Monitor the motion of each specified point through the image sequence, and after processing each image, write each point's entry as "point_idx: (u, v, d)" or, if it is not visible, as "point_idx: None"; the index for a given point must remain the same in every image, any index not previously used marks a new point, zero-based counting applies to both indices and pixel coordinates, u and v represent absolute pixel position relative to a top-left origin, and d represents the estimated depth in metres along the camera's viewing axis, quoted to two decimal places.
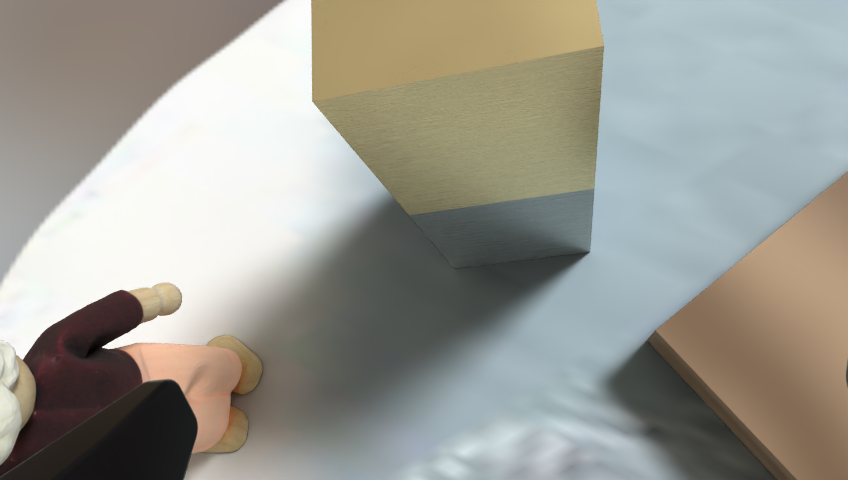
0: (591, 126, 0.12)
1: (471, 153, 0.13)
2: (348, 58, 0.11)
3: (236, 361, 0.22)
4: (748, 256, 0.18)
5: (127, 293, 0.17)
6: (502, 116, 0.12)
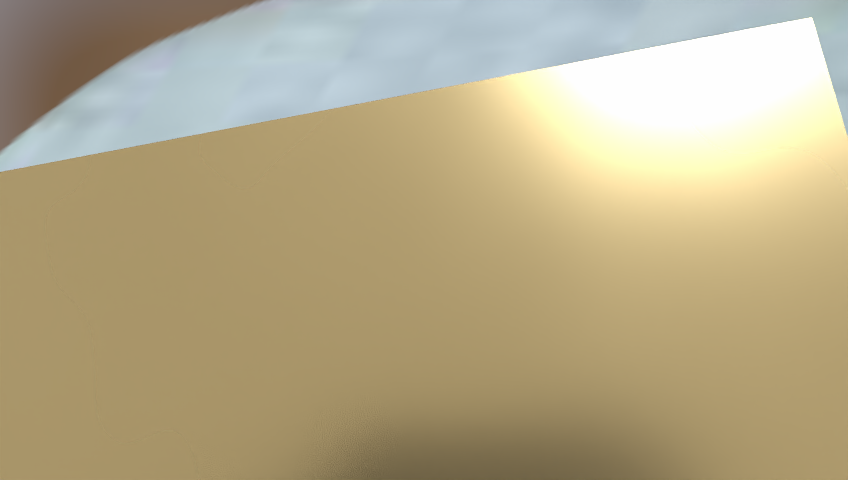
0: None
1: None
2: None
3: None
4: None
5: None
6: None
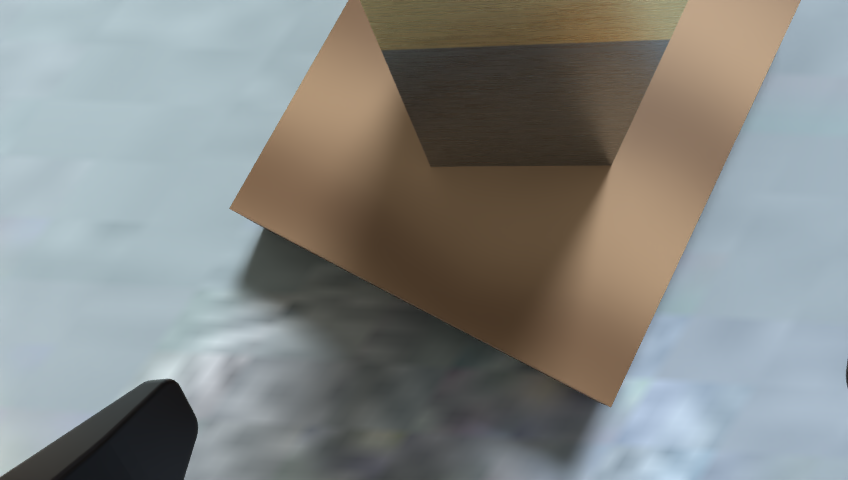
0: None
1: None
2: None
3: None
4: (288, 107, 0.18)
5: None
6: None
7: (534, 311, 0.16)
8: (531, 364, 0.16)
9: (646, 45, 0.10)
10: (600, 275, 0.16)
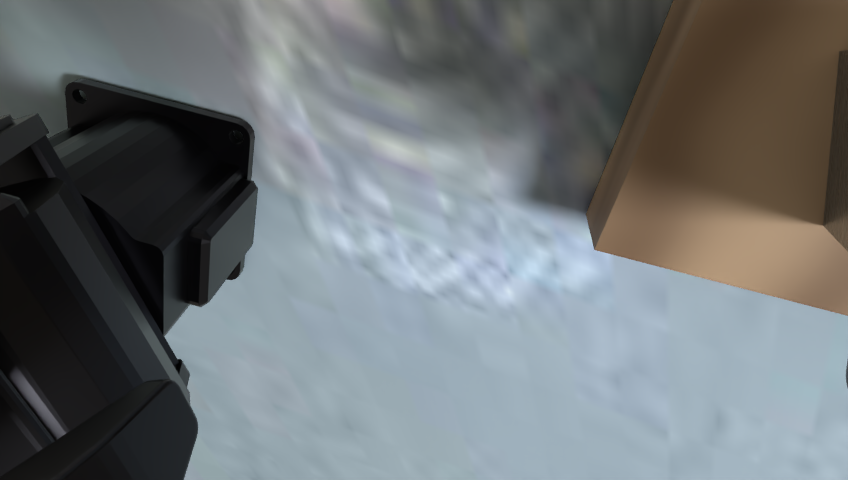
0: None
1: None
2: None
3: None
4: None
5: None
6: None
7: (672, 182, 0.17)
8: (622, 186, 0.18)
9: None
10: (709, 229, 0.18)
